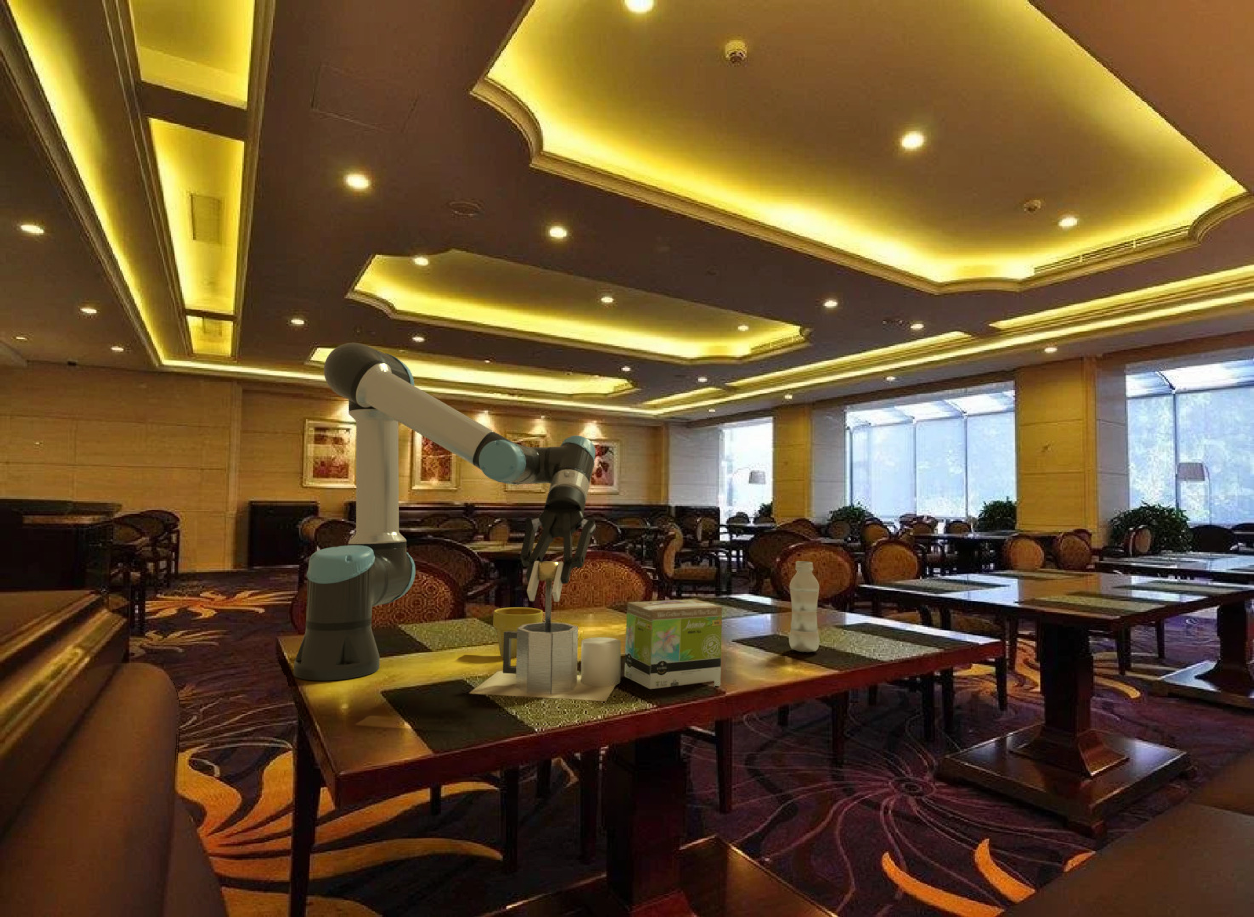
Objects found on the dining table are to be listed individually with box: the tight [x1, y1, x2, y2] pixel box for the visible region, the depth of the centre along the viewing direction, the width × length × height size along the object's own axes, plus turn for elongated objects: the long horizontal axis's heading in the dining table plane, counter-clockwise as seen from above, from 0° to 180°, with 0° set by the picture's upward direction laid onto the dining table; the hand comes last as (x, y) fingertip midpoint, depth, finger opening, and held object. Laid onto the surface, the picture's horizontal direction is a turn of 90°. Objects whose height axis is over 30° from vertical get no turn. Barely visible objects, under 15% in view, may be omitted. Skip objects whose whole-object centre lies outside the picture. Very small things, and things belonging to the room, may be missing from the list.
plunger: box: [538, 560, 560, 632], centre depth 118 cm, size 7×7×15 cm
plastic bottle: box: [788, 560, 820, 653], centre depth 154 cm, size 6×7×20 cm
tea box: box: [624, 599, 723, 690], centre depth 125 cm, size 15×10×15 cm, turn 117°
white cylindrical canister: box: [580, 636, 622, 687], centre depth 122 cm, size 7×7×7 cm
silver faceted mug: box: [502, 621, 579, 695], centre depth 118 cm, size 13×10×10 cm
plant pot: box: [492, 606, 544, 658], centre depth 144 cm, size 10×10×10 cm
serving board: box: [469, 670, 616, 702], centre depth 119 cm, size 23×15×1 cm, turn 82°
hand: (542, 596), depth 115 cm, fingers closed on plunger, 4 cm apart
